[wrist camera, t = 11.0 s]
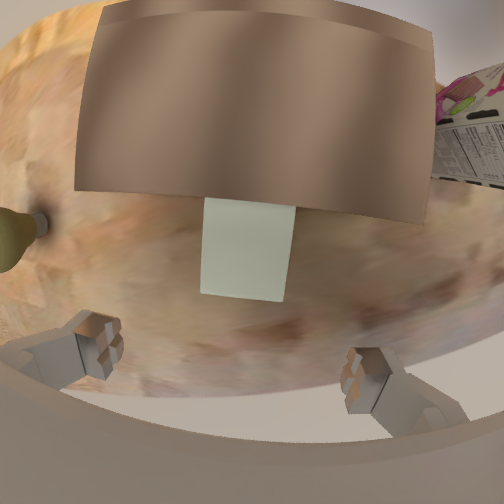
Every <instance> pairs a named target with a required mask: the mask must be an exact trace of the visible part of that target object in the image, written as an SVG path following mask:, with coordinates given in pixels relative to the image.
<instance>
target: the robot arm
mask: <svg viewBox="0 0 504 504" xmlns="http://www.w3.org/2000/svg"><path fill="white" fill-rule="evenodd" d="M121 329H122V328H121V322H120V320H119V319H118V318H117V317H113V316H109V315H105V314H101V313H98V312H94V311H90V310H81V311H80V312H79V313H78V314H77V315H76V316H75V317H73V318H72V319H71V320H70V321H69V322H68V323H67V324H65V325H64V326H63V327H62V328H61V329H60V328H55V329H51V330H48V331H44V332H41V333H37V334H33V335H30V336H26V337H22V338H19V339H15V340H11V341H8V342H7V343H6V344H4V345H3V346H2V347H1V348H0V504H504V411H502V412H499V413H496V414H493V415H490V416H487V417H484V418H481V419H477V420H474V421H471V422H470V420H469V419H468V417H467V416H466V414H465V412H464V411H463V409H462V407H461V406H460V404H459V403H458V402H457V401H456V400H454V399H452V398H450V397H449V396H447V395H446V394H444V393H442V392H440V391H439V390H437V389H435V388H434V387H432V386H431V385H429V384H427V383H425V382H424V381H422V380H421V379H419V378H417V377H415V376H414V375H412V374H410V373H409V374H407V373H406V371H405V370H404V368H403V366H402V364H401V363H400V361H399V359H398V357H397V356H396V354H395V352H394V351H393V349H392V348H390V347H377V348H352V347H351V349H350V350H349V353H348V356H347V358H348V361H349V363H348V364H347V365H345V366H344V368H343V371H342V374H341V389H342V392H343V393H344V394H346V395H347V396H346V398H345V403H346V408H347V411H348V414H370V413H371V415H372V416H373V417H374V418H375V419H376V420H377V421H378V422H379V423H380V424H381V425H382V426H383V427H384V428H385V429H386V430H387V431H388V432H389V433H390V434H391V435H392V436H393V437H394V438H387V439H378V440H369V441H358V442H341V443H284V442H268V441H267V442H266V441H255V440H244V439H236V438H228V437H221V436H214V435H207V434H202V433H196V432H191V431H186V430H181V429H176V428H171V427H166V426H163V425H158V424H154V423H151V422H147V421H143V420H139V419H136V418H132V417H129V416H126V415H122V414H119V413H116V412H113V411H110V410H107V409H104V408H101V407H98V406H95V405H93V404H90V403H87V402H84V401H82V400H80V399H77V398H74V397H72V396H70V395H67V394H65V393H62V392H60V391H59V390H60V389H62V388H64V387H66V386H68V385H70V384H72V383H74V382H75V381H77V380H79V379H81V378H83V377H85V376H86V375H88V376H92V377H95V378H98V379H102V380H105V381H106V379H107V378H108V376H109V375H110V373H111V372H112V371H113V366H112V365H113V364H115V363H118V362H119V360H120V359H121V357H122V354H123V351H124V342H123V338H122V336H121V335H120V334H119V331H120V330H121Z"/></svg>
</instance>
